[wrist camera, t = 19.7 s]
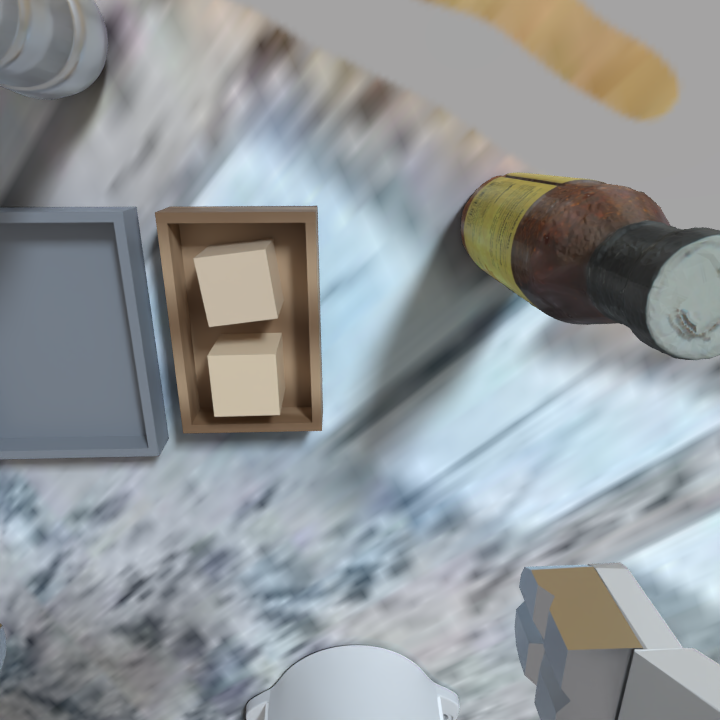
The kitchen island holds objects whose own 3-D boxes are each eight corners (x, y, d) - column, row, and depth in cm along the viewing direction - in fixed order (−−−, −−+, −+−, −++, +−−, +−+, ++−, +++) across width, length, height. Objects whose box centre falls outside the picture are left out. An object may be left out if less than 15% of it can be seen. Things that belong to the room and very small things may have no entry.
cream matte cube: (281, 332, 37) (275, 354, 33) (285, 388, 38) (279, 415, 35) (220, 334, 37) (207, 355, 33) (226, 390, 38) (214, 416, 35)
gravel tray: (168, 438, 40) (159, 456, 38) (-4, 441, 40) (-24, 459, 38) (136, 207, 34) (122, 211, 32) (-66, 207, 34) (-95, 212, 32)
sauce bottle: (469, 283, 37) (602, 426, 18) (446, 188, 35) (572, 242, 16) (567, 253, 37) (805, 368, 18) (550, 154, 34) (802, 171, 16)
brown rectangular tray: (322, 410, 40) (321, 430, 37) (194, 412, 40) (183, 433, 37) (317, 206, 35) (315, 211, 32) (169, 206, 34) (155, 212, 32)
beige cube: (272, 237, 35) (265, 249, 31) (283, 300, 36) (277, 318, 33) (208, 245, 35) (193, 258, 31) (222, 307, 36) (208, 327, 33)
